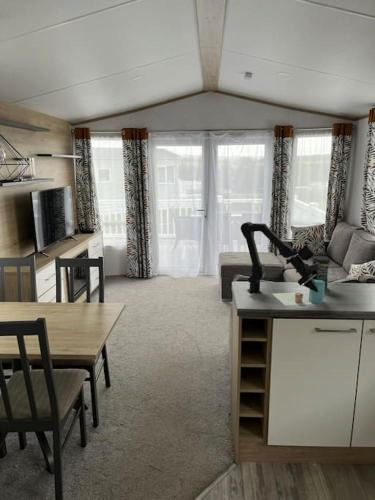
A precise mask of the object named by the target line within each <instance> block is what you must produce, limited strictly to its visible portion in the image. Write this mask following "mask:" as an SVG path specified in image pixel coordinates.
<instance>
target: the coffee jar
mask: <svg viewBox="0 0 375 500" xmlns="http://www.w3.org/2000/svg"><path fill="white" fill-rule="evenodd" d="M315 261H317V262H319V263H320V264H321V265H320V266H321V269H319V271H320V272H319V273H318V274H319V277H318V278H319V280H322V281H324V283H325V288H324V290H325V289H327V288H328V272H329V266H330V257H328V256H322V255H321V256H319V255H317V256H316V255H313V256H312V259H311V265H312V264H313V262H315Z"/></svg>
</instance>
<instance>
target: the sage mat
mask: <svg viewBox="0 0 375 500" xmlns="http://www.w3.org/2000/svg"><path fill="white" fill-rule="evenodd" d="M295 293H296V292H283V293H279V292H278V293H272V296H273V297H275V299H277V300H278V301H279V302H281V303H282V304H283V305H284V306H302V305H303V306H306V305H308V306H309V305H312V302H310V301H309V300H307V299H306V298H304V297H303V298H302V303H297V302H295Z"/></svg>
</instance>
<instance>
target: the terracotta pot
mask: <svg viewBox="0 0 375 500" xmlns="http://www.w3.org/2000/svg"><path fill="white" fill-rule="evenodd" d="M294 293H295V302H297V303H302V298H304V294H303V293H300V292H294Z"/></svg>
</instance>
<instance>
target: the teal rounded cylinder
mask: <svg viewBox="0 0 375 500" xmlns="http://www.w3.org/2000/svg"><path fill="white" fill-rule="evenodd" d="M313 283H314V285H315V286H316V288H317V289H318V292H315V291H313V290H311V289H309V292H308V293H309V294H308V302H309V303H311V304H323V302H324V298H325V289H324V288H325V283H324V281H322V280H313Z"/></svg>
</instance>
